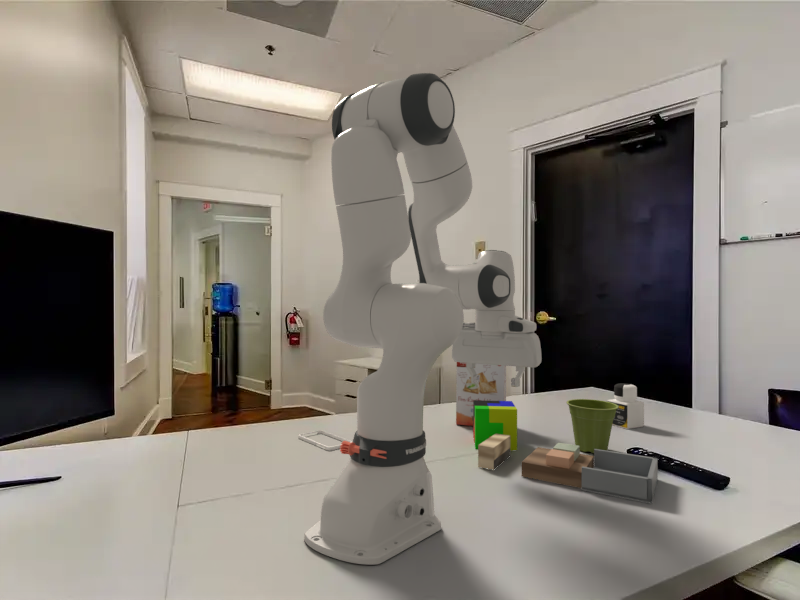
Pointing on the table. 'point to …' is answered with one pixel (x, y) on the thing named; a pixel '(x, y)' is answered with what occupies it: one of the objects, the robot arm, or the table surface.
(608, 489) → the tray
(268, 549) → the table surface
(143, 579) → the table surface
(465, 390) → the cracker box
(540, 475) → the brown wooden block
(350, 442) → the phone case
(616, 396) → the medicine bottle
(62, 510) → the table surface
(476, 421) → the puzzle toy
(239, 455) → the table surface
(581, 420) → the plant pot
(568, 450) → the tile sage
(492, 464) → the tall wooden pillar
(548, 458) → the tile terracotta
